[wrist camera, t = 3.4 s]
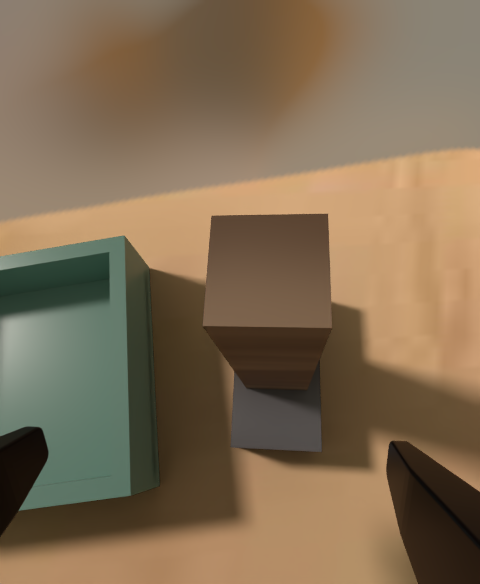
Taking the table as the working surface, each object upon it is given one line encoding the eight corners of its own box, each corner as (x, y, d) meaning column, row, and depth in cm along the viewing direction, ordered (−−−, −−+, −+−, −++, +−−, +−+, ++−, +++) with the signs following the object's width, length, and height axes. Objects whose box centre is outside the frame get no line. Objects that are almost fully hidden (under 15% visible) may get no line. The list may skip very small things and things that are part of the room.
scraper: (317, 451, 20) (369, 462, 7) (236, 446, 20) (162, 451, 8) (314, 297, 22) (348, 126, 10) (243, 297, 23) (196, 132, 11)
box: (149, 267, 24) (124, 235, 20) (159, 485, 20) (130, 495, 16) (-39, 298, 25) (-97, 272, 21) (-70, 516, 20) (-149, 533, 17)
